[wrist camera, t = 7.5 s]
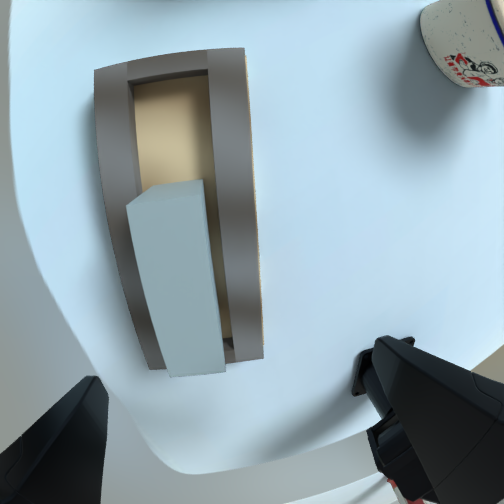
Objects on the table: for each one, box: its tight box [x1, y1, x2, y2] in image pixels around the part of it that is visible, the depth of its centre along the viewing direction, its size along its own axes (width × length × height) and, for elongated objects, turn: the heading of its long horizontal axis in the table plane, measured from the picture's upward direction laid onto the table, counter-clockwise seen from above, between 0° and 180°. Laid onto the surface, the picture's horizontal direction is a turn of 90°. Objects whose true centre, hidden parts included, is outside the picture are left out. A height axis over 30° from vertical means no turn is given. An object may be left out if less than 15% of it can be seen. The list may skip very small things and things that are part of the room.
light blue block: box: [126, 179, 226, 377], centre depth 15 cm, size 9×3×6 cm, turn 4°
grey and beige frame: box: [94, 48, 264, 370], centre depth 17 cm, size 20×9×2 cm, turn 4°
